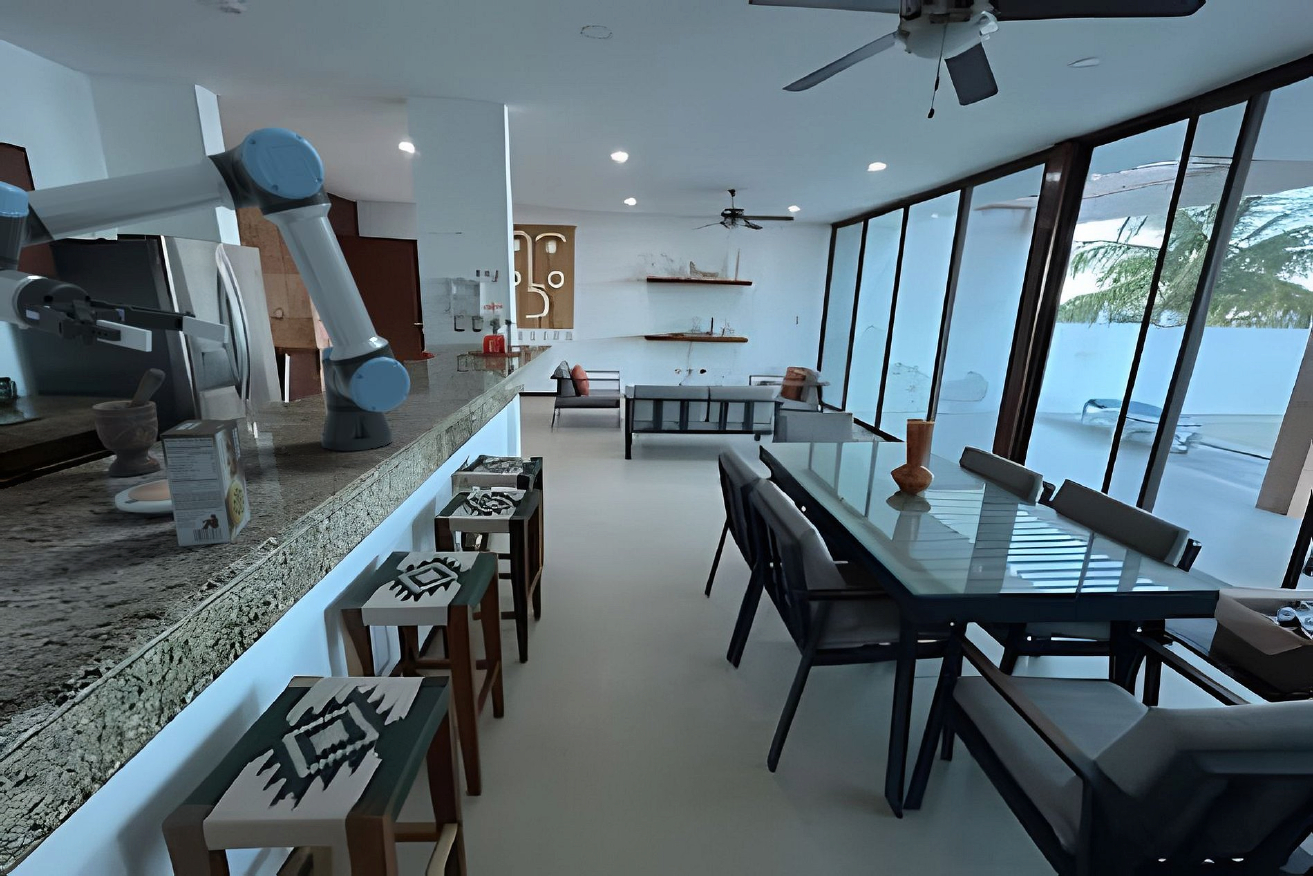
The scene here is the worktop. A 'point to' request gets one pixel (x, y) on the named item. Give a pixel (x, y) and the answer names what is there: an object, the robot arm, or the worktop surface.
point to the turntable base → (156, 514)
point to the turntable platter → (145, 498)
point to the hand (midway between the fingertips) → (191, 337)
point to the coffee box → (206, 481)
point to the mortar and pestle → (131, 428)
